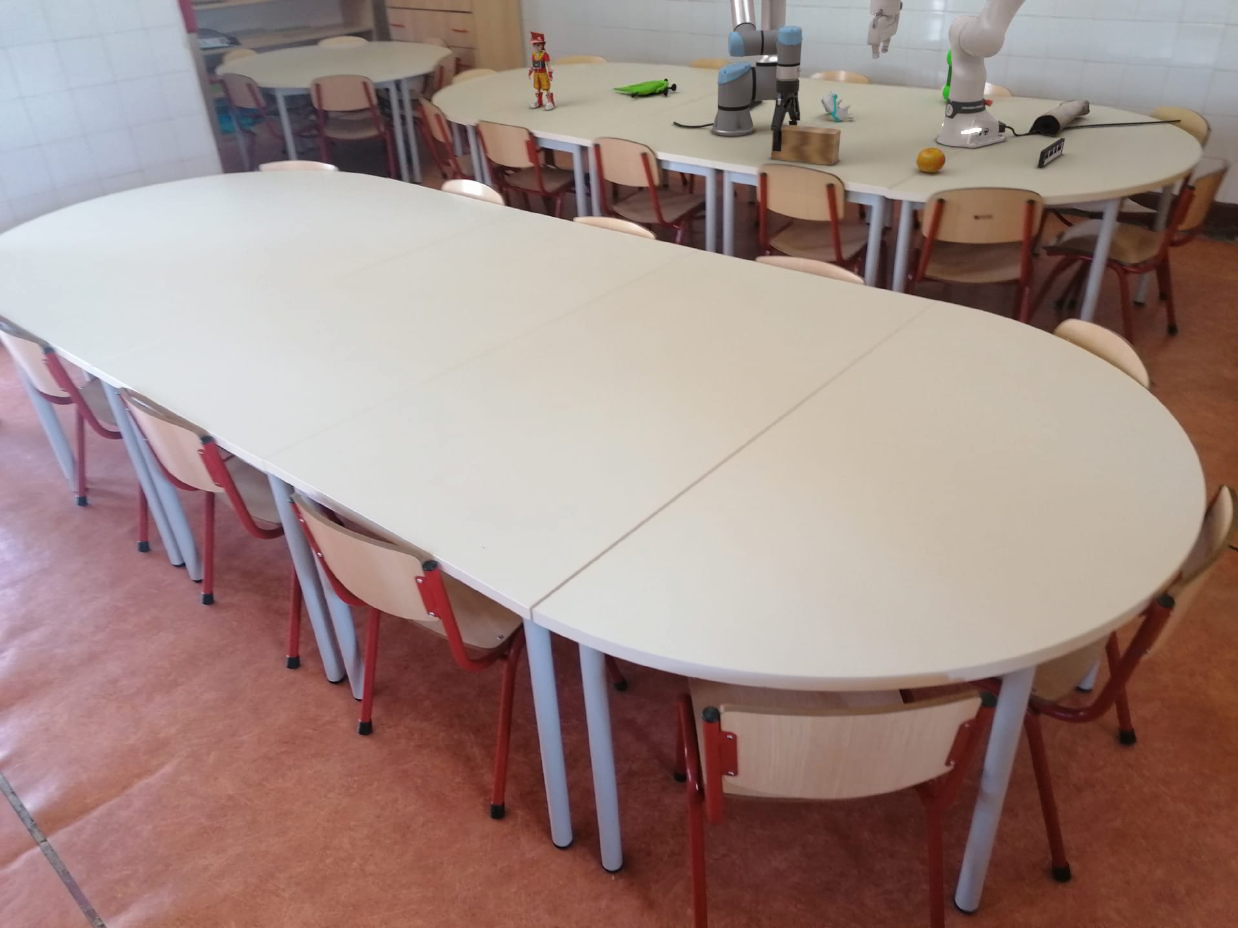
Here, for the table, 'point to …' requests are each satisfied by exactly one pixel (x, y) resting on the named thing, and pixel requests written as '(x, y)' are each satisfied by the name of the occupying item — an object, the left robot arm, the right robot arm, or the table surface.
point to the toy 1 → (541, 71)
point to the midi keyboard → (1051, 152)
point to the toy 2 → (648, 88)
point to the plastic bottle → (947, 86)
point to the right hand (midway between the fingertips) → (880, 55)
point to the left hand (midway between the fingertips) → (784, 146)
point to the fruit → (930, 160)
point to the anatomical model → (835, 107)
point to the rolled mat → (1060, 117)
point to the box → (808, 144)
